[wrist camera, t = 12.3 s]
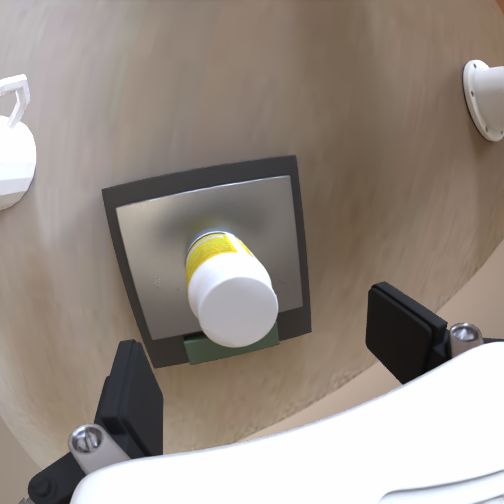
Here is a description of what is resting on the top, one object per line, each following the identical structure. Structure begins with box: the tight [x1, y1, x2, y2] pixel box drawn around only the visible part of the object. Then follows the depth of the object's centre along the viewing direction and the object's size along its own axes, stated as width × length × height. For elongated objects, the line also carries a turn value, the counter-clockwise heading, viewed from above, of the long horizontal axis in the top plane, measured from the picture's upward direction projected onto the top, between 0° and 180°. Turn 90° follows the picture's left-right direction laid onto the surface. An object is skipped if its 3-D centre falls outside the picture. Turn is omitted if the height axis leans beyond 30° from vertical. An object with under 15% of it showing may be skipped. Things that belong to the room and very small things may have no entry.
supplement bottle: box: [185, 231, 278, 347], centre depth 18 cm, size 5×5×8 cm
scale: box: [102, 155, 312, 368], centre depth 23 cm, size 15×16×3 cm
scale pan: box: [115, 175, 303, 340], centre depth 22 cm, size 13×11×1 cm
